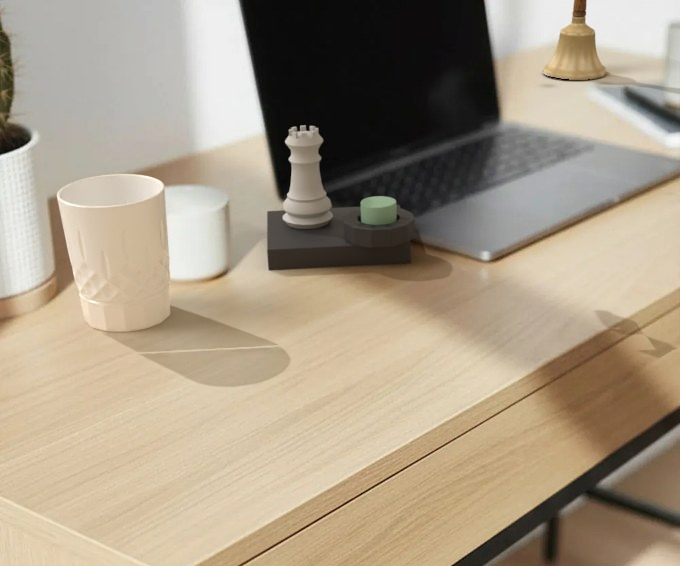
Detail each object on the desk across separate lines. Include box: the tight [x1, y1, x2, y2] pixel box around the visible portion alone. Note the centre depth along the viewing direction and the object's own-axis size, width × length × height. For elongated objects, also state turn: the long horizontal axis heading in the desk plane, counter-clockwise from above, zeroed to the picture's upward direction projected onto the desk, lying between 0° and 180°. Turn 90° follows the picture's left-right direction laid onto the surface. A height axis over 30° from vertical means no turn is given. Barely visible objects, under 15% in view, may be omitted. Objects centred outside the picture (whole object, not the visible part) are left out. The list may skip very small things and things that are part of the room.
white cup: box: [56, 173, 171, 333], centre depth 91 cm, size 8×8×10 cm
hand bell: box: [542, 0, 607, 81], centre depth 153 cm, size 8×8×16 cm
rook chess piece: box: [282, 124, 333, 229], centre depth 103 cm, size 4×4×8 cm
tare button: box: [360, 195, 397, 225], centre depth 101 cm, size 3×3×2 cm
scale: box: [266, 204, 416, 271], centre depth 104 cm, size 12×11×4 cm
